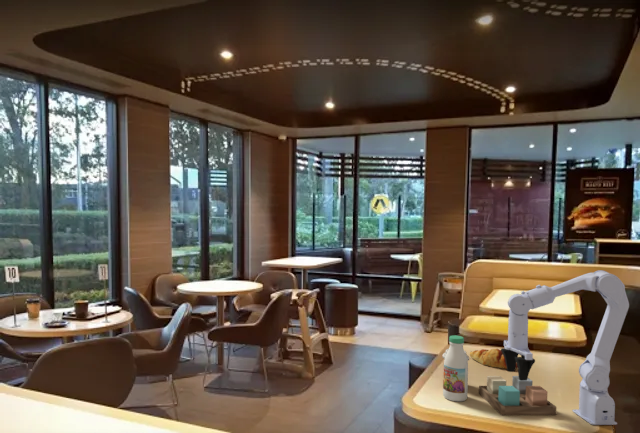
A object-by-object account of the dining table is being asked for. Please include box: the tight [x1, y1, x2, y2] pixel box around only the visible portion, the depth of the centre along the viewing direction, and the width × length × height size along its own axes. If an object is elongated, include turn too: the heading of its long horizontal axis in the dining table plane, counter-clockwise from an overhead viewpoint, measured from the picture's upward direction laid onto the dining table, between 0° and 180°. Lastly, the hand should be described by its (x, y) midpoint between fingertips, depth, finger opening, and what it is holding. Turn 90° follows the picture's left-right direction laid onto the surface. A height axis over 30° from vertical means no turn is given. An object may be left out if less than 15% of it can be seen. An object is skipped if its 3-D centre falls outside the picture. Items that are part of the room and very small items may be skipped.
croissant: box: [469, 348, 518, 370], centre depth 188 cm, size 21×10×8 cm, turn 42°
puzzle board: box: [478, 375, 557, 416], centre depth 149 cm, size 17×17×6 cm
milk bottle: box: [442, 334, 469, 402], centre depth 153 cm, size 8×8×20 cm
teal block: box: [498, 385, 520, 406], centre depth 144 cm, size 4×4×6 cm
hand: (516, 375), depth 147 cm, fingers open, 7 cm apart
